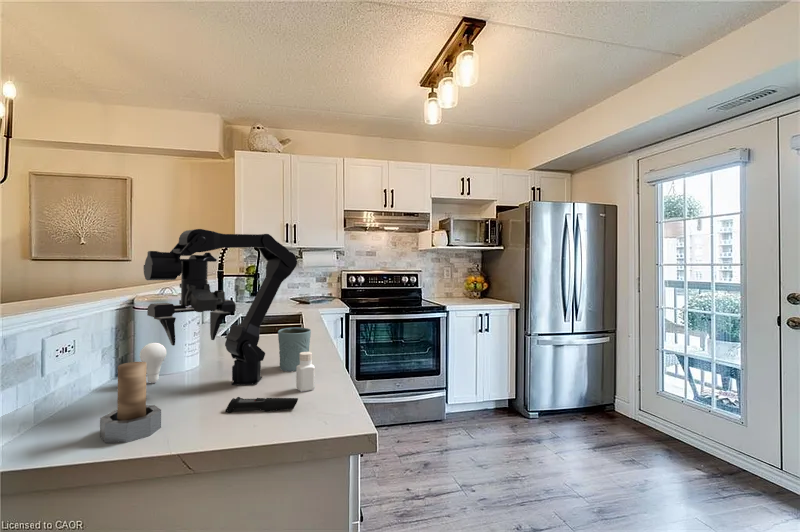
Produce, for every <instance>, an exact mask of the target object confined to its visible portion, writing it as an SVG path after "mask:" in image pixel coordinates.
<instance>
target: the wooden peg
mask: <svg viewBox="0 0 800 532" xmlns="http://www.w3.org/2000/svg"><path fill="white" fill-rule="evenodd" d="M146 405H147V374H146V362H142V361H131V362H130V361H129V362H125V363H120V364H119V365H118V366H117V407H116V408H117V409H116V410H117V421H126V420H132V419H136V418H140V417H144V416H146Z"/></svg>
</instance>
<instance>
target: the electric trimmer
mask: <svg viewBox="0 0 800 532" xmlns="http://www.w3.org/2000/svg"><path fill="white" fill-rule="evenodd" d="M298 400H299V398H298V397H266V398H265V397H256V398H241V396H237V397H236V398H234V397H233V398H232V399H230V401H229V402H228V404H227V406H226V408H225V411H224V413H228V414H230V413H232V412H248V411H254V412H255V411H263V412H278V411H284V410H285V411H286V410H287V411H288V410H293V409H295V406H296V405H297V403H298Z"/></svg>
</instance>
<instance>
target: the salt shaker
mask: <svg viewBox="0 0 800 532" xmlns="http://www.w3.org/2000/svg"><path fill="white" fill-rule="evenodd" d="M312 360H313V353H312V351H309V352H301V353H300V360H299V361H300V365H298V366H297V367H296V371H295V372H296V375H295V377H296V380H295V381H296V382H295V383H296V385H295V387H296V389H297V390H298V391H299V392H301V393H303V392H308V391H314V390H315V387H316V380H315V379H316V376H315V375H316V370H315V369H316V367H315V365H314V364H312V363H313V362H312Z"/></svg>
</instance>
